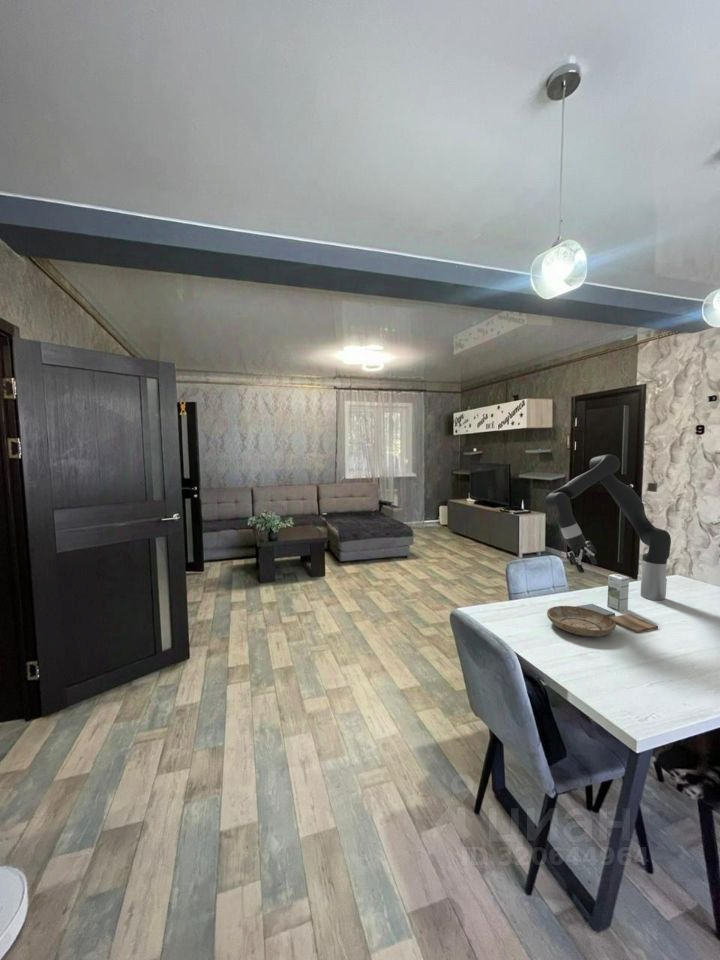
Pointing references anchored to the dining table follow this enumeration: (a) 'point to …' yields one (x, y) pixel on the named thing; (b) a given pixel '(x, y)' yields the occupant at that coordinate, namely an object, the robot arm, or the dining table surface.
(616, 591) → the syrup box
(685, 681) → the dining table surface
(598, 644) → the dining table surface
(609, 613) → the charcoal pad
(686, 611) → the dining table surface
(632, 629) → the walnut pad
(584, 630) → the ceramic bowl
